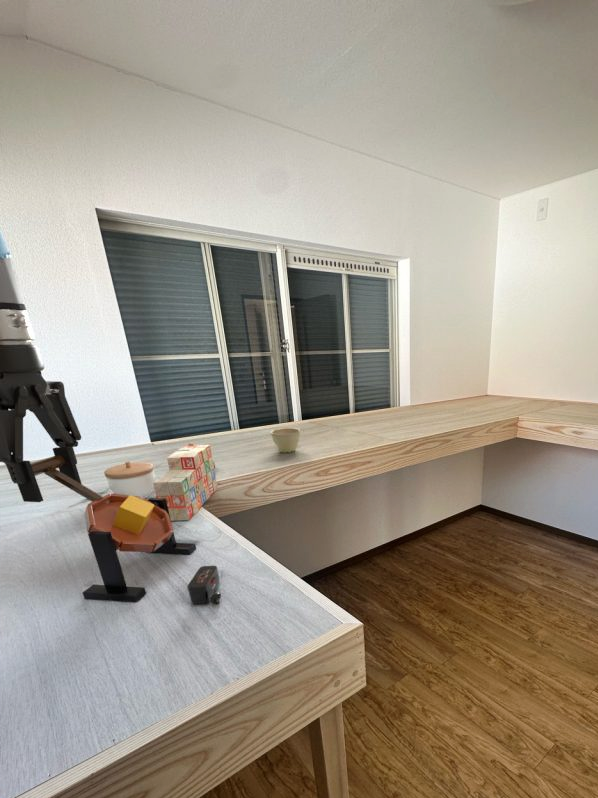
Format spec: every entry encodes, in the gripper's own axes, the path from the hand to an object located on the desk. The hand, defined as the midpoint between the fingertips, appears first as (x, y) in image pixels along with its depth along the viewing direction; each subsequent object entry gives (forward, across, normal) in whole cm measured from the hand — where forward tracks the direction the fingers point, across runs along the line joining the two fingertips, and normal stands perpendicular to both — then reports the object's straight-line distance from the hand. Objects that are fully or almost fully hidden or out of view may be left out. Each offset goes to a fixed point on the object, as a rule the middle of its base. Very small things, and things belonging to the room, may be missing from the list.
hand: (54, 492), depth 69 cm
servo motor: (+14, -6, -28) cm, 32 cm away
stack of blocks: (+15, +31, -4) cm, 35 cm away
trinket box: (+15, +34, +13) cm, 39 cm away
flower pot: (+15, +82, -11) cm, 84 cm away
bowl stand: (+14, 0, -13) cm, 19 cm away
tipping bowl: (+3, 0, -7) cm, 8 cm away
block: (+5, 0, -12) cm, 13 cm away
